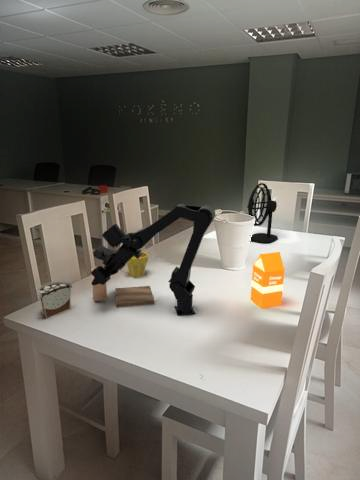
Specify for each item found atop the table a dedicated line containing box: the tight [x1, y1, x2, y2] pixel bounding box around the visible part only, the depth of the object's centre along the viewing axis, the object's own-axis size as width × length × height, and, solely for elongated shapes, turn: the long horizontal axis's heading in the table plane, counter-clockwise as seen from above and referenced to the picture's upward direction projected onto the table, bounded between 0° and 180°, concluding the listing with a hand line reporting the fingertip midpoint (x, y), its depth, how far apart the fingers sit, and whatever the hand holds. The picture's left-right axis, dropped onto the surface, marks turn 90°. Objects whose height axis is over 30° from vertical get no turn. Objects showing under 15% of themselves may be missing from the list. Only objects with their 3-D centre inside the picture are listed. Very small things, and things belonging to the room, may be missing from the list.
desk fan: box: [246, 182, 279, 244], centre depth 215 cm, size 27×18×35 cm, turn 143°
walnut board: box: [114, 285, 155, 308], centre depth 135 cm, size 14×14×2 cm
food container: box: [37, 280, 73, 320], centre depth 122 cm, size 12×6×10 cm, turn 141°
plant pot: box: [126, 250, 149, 278], centre depth 157 cm, size 10×10×10 cm
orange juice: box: [250, 251, 285, 309], centre depth 129 cm, size 8×9×20 cm
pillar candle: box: [90, 265, 108, 302], centre depth 130 cm, size 5×5×12 cm
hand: (95, 281), depth 130 cm, fingers closed on pillar candle, 5 cm apart
